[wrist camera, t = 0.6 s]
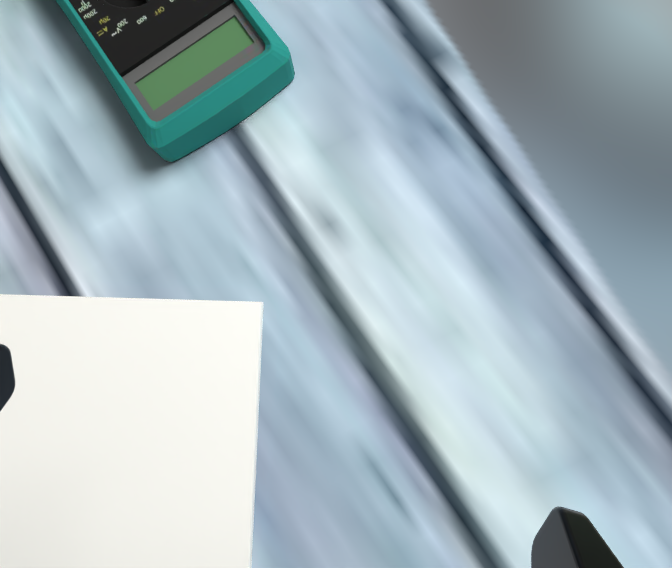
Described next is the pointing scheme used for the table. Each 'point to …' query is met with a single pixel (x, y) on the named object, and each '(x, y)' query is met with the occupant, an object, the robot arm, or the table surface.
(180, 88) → the digital multimeter
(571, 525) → the robot arm
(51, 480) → the white mat
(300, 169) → the table surface
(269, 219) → the table surface
